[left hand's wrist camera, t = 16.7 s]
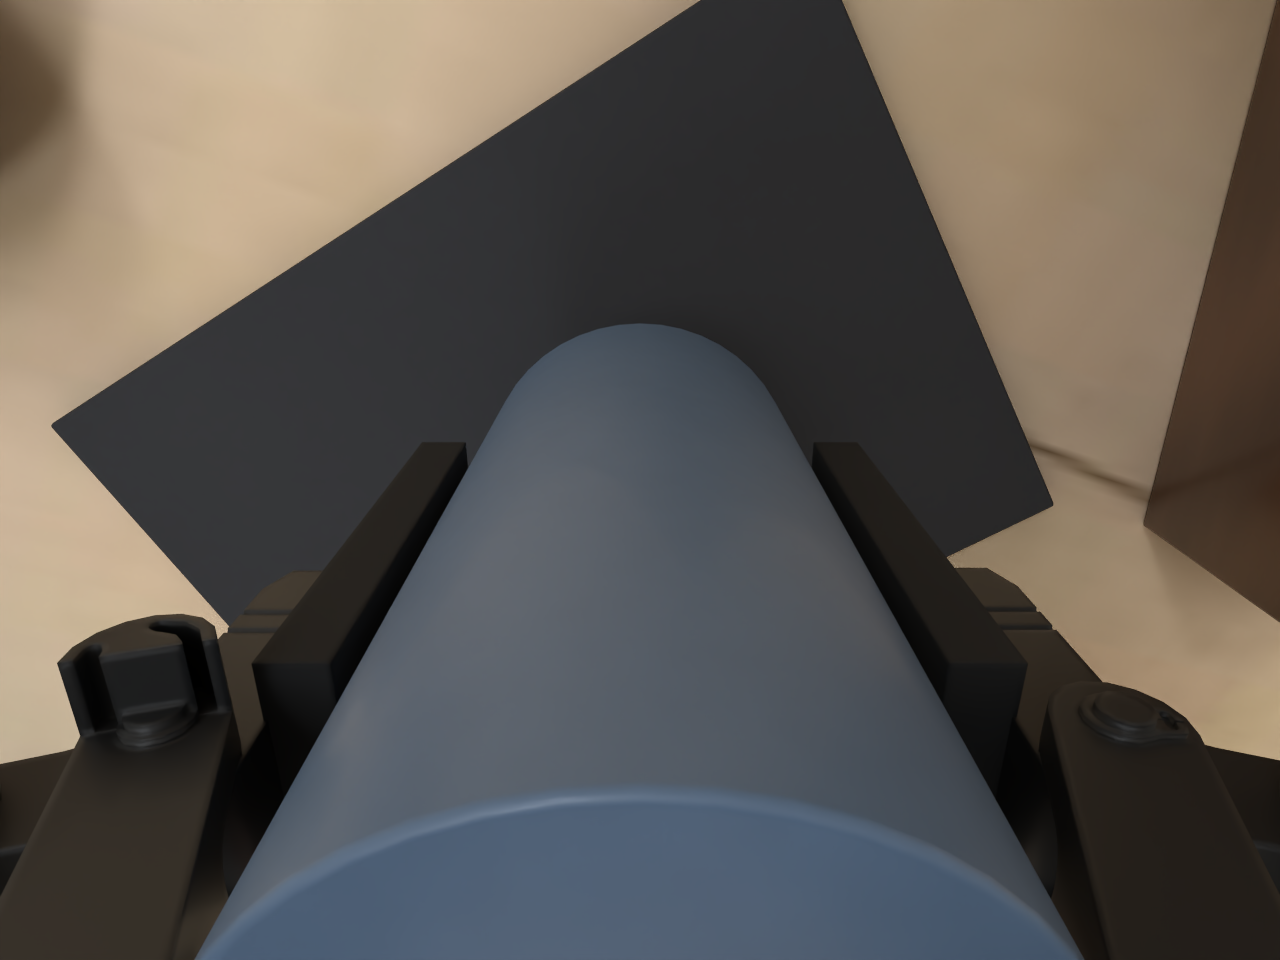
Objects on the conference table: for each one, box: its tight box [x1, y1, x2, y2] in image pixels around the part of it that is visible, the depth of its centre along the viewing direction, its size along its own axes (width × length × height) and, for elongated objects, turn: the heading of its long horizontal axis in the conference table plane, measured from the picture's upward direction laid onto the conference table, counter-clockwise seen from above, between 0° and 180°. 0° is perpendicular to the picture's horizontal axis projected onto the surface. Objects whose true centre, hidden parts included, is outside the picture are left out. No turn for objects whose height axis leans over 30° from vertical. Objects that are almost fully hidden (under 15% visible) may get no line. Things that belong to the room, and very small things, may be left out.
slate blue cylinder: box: [194, 323, 1084, 960], centre depth 11 cm, size 6×6×12 cm
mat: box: [51, 0, 1053, 626], centre depth 20 cm, size 20×14×1 cm
